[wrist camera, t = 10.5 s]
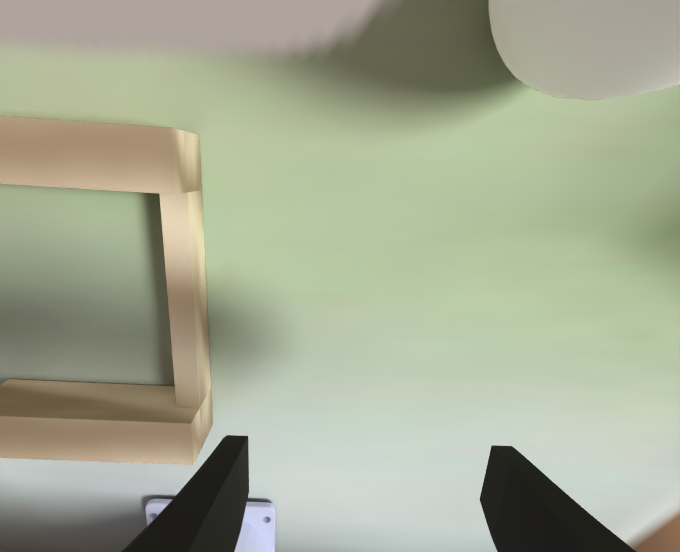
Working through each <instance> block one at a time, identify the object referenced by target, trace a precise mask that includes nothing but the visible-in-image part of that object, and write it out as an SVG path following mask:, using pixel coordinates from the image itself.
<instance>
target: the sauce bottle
mask: <svg viewBox="0 0 680 552" xmlns="http://www.w3.org/2000/svg"><path fill="white" fill-rule="evenodd" d="M489 18H490V24H491V31H492V35H493V38H494V41H495V45H496V48H497V50H498V52H499V54H500V56H501V58H502V60H503V62H504V64H505V65H506V66H507V68H508V69H509V70H510V71H511V72H512V74H513V75H514V76H515V77H516V78H517V79H519V80H520V81H521V82H523V83H524V84H525V85H527V86H528V87H530V88H531V89H533V90H536V91H539V92H542V93H545V94H547V95H550V96H553V97H559V98H568V99H580V100H599V99H607V98H615V97H623V96H631V95H638V94H643V93H648V92H653V91H657V90H661V89H665V88H669V87H672V86H675V85H679V84H680V0H489Z"/></svg>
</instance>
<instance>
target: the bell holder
mask: <svg viewBox="0 0 680 552" xmlns="http://www.w3.org/2000/svg"><path fill="white" fill-rule="evenodd" d="M0 184H14V185H30V186H47V187H63V188H79V189H95V190H112V191H128V192H144V193H159V195H160V207H161V220H162V232H163V245H164V258H165V270H166V283H167V295H168V308H169V320H170V333H171V345H172V358H173V370H174V383H175V386H157V385H134V384H111V383H88V382H64V381H41V380H18V379H8V380H7V381H5V382H4V383H2V384H1V385H0V458H17V459H45V460H73V461H101V462H130V463H158V464H186V465H194V463H195V461H196V459H197V457H198V455H199V453H200V450H201V448H202V446H203V444H204V442H205V440H206V438H207V436H208V433H209V431H210V429H211V427H212V425H213V420H212V398H211V377H210V355H209V334H208V312H207V291H206V269H205V248H204V227H203V205H202V184H201V162H200V141H199V135H197V134H193V133H189V132H186V131H182V130H178V129H174V128H168V127H153V126H138V125H124V124H109V123H94V122H79V121H65V120H50V119H35V118H21V117H6V116H0Z"/></svg>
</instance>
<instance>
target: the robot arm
mask: <svg viewBox="0 0 680 552" xmlns="http://www.w3.org/2000/svg"><path fill="white" fill-rule="evenodd" d="M248 493H249V466H248V436H231V435H227V436H226V437H224V438H223V439H222V441H221V442H220V443H219V445H218V446H217V447H216V449H215V450H214V451H213V452H212V454H211V455H210V456H209V457H208V459H207V460H206V461H205V462H204V464H203V465H202V466H201V467H200V469H199V470H198V471H197V472H196V473H195V475H194V476H193V477H192V478H191V479H190V480H189V481H188V483H187V484H186V485H185V486H184V487H183V488H182V490H181V491H180V492H179V493H178V494H177V495H176V496H175V498H174V499H151V500H149V502H148V503H147V505H146V507H145V512H146V520H147V527H146V528H145V529H144V530H143V531H142V532H141V533H140V534H139V535H138V536H137V537H136V538H135V539H134V540H133V541H132V542H131V543H130V544H129V545H128V546H127V547H126V548H125V549H124V550H123V551H122V552H275V513H276V509H275V506H274V505H273V504H272V503H269V502H247V498H248ZM480 502H481V505H482V508H483V512H484V515H485V518H486V521H487V524H488V527H489V531H490V534H491V537H492V539H493V542H494V544H495V546H496V549H497V551H498V552H636V551H635V550H634V549H632V548H631V547H630V546H628V545H627V544H626V543H625V542H623V541H622V540H621V539H620V538H618V537H617V536H616V535H615V534H613V533H612V532H611V531H610V530H608V529H607V528H606V527H605V526H603V525H602V524H601V523H600V522H599V521H597V520H596V519H595V518H594V517H593V516H591V515H590V514H589V513H588V512H587V511H586V510H584V509H583V508H582V507H581V506H580V505H578V504H577V503H576V502H575V501H574V500H573V499H572V498H570V497H569V496H568V495H567V494H566V493H565V492H564V491H562V490H561V489H560V488H559V487H558V486H557V485H556V484H554V483H553V482H552V481H551V480H550V479H549V478H548V477H547V476H545V475H544V474H543V473H542V472H541V471H540V470H539V469H538V468H537V467H535V466H534V465H533V464H532V463H531V462H530V461H529V460H527V459H526V458H525V457H524V456H523V455H522V454H521V453H519V452H518V451H517V450H516V449H515V448H513V447H512V446H492V447H491V451H490V456H489V460H488V465H487V469H486V474H485V478H484V483H483V487H482V492H481V496H480ZM266 516H267V517H266Z"/></svg>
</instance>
